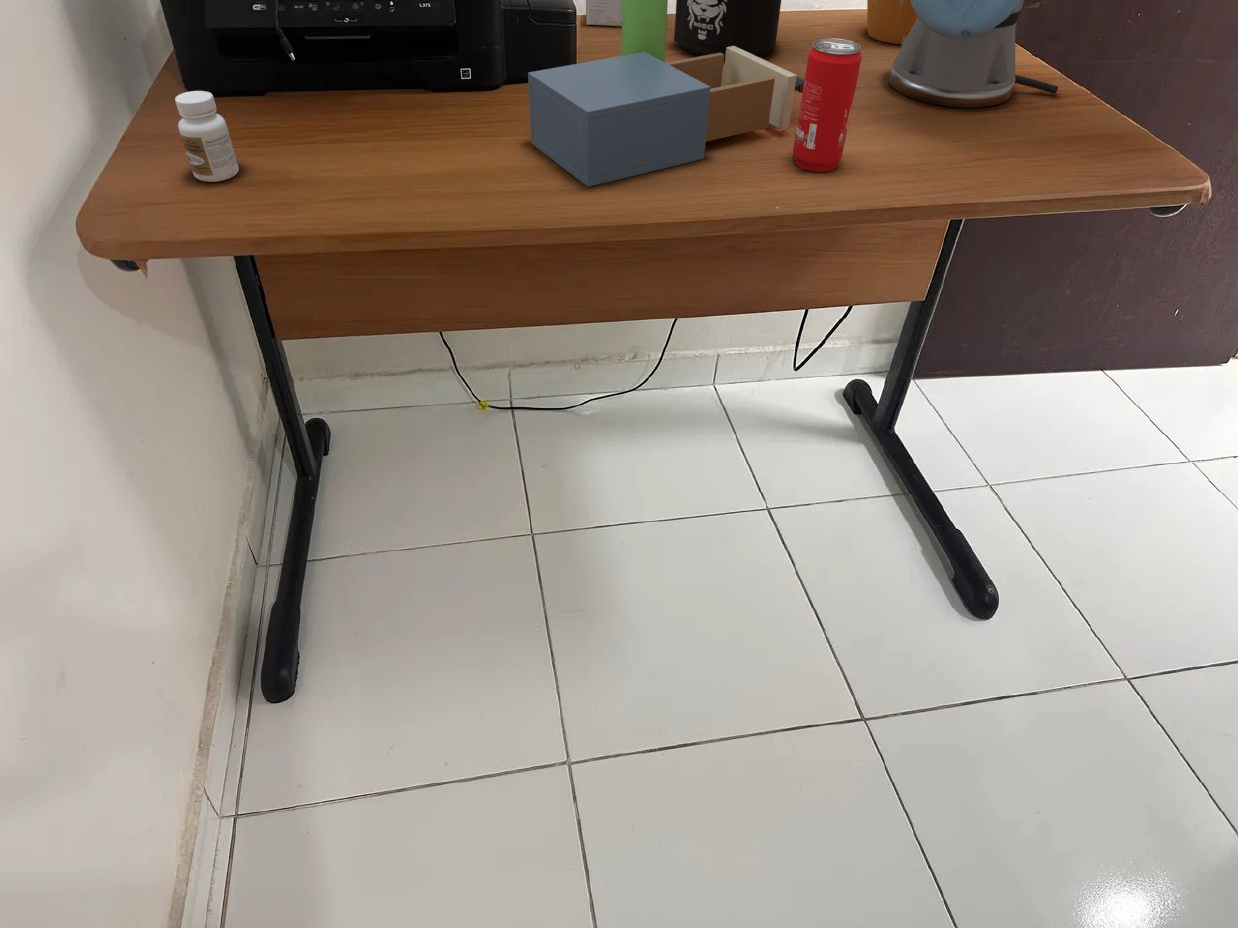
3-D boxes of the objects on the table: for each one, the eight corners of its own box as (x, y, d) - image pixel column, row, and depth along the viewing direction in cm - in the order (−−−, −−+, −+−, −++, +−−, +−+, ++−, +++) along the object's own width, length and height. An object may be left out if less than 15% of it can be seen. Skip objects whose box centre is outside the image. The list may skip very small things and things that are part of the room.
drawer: (756, 90, 107) (762, 40, 103) (817, 121, 100) (826, 68, 96) (635, 116, 100) (637, 63, 96) (692, 151, 93) (696, 96, 89)
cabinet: (642, 120, 102) (644, 51, 97) (704, 159, 94) (710, 86, 89) (531, 144, 96) (527, 72, 91) (587, 187, 88) (587, 112, 83)
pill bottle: (186, 174, 89) (160, 96, 83) (225, 161, 91) (203, 85, 86) (207, 187, 86) (182, 108, 81) (247, 174, 89) (226, 97, 84)
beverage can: (792, 152, 96) (810, 36, 88) (839, 156, 95) (862, 39, 87) (790, 171, 92) (810, 52, 84) (840, 176, 91) (864, 56, 83)
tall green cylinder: (667, 94, 108) (675, -42, 98) (656, 109, 104) (662, -31, 94) (627, 89, 109) (631, -46, 99) (615, 103, 106) (617, -35, 95)
